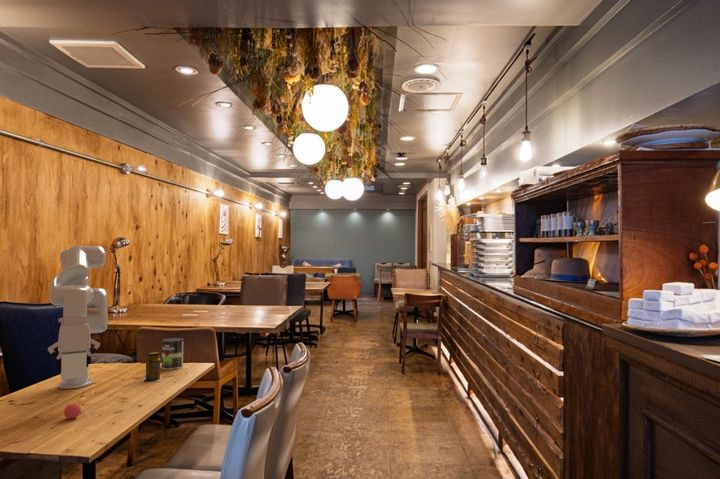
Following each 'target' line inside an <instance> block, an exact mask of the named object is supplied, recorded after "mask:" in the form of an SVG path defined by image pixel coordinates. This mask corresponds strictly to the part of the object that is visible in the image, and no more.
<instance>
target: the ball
mask: <svg viewBox="0 0 720 479" xmlns="http://www.w3.org/2000/svg"><path fill="white" fill-rule="evenodd" d="M81 411H82V408H81V406H80V404H78V403H70V404H67V406H66V407H65V408H64V409H63V415H64V416H65V418H67V419H68V420H69V419H70V420H72V419H76V418H77V417H78V416H80V413H82V412H81Z"/></svg>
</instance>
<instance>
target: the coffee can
mask: <svg viewBox="0 0 720 479" xmlns="http://www.w3.org/2000/svg"><path fill="white" fill-rule="evenodd" d="M184 340H185V339H184V337H183V338H182V337H168V338H163V339H162V340H161V366H160V369H162V370H166V371H167V370H169V371H170V370H171V371H172V370H178V369H181V368H183V367H184Z"/></svg>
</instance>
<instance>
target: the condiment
mask: <svg viewBox="0 0 720 479" xmlns="http://www.w3.org/2000/svg"><path fill="white" fill-rule="evenodd" d="M160 355H161V353H160V352H159V351H151V352H147V354H146V356H147V357H146V360H145V377H144V378H143V383H152V382H153V383H154V382H162V376H161V358H160V357H161V356H160Z"/></svg>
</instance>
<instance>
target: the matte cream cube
mask: <svg viewBox="0 0 720 479" xmlns="http://www.w3.org/2000/svg"><path fill="white" fill-rule="evenodd" d="M86 357H87V351H80V352H70V353H64V354H62V361H61V370H60V371H61V372H60V374H61V375H60V379H61V380H62V381H63V379H70V378H78V377H86Z"/></svg>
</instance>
